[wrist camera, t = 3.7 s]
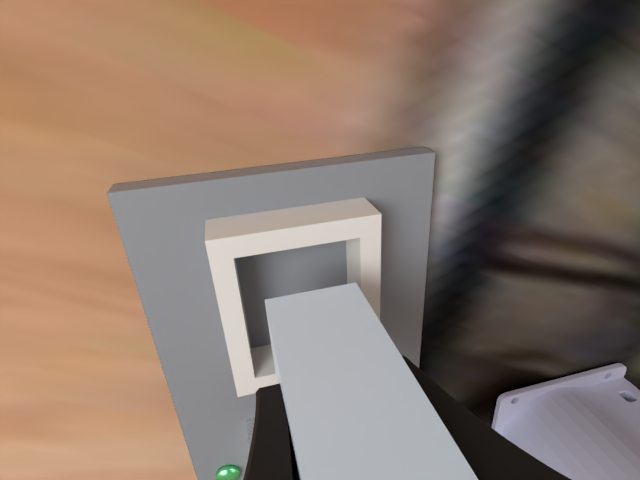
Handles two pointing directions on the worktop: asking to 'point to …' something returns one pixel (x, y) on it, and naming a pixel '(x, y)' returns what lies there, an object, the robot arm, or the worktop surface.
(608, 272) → the worktop surface
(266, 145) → the worktop surface
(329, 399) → the plug
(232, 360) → the frame
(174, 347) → the panel
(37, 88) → the worktop surface
